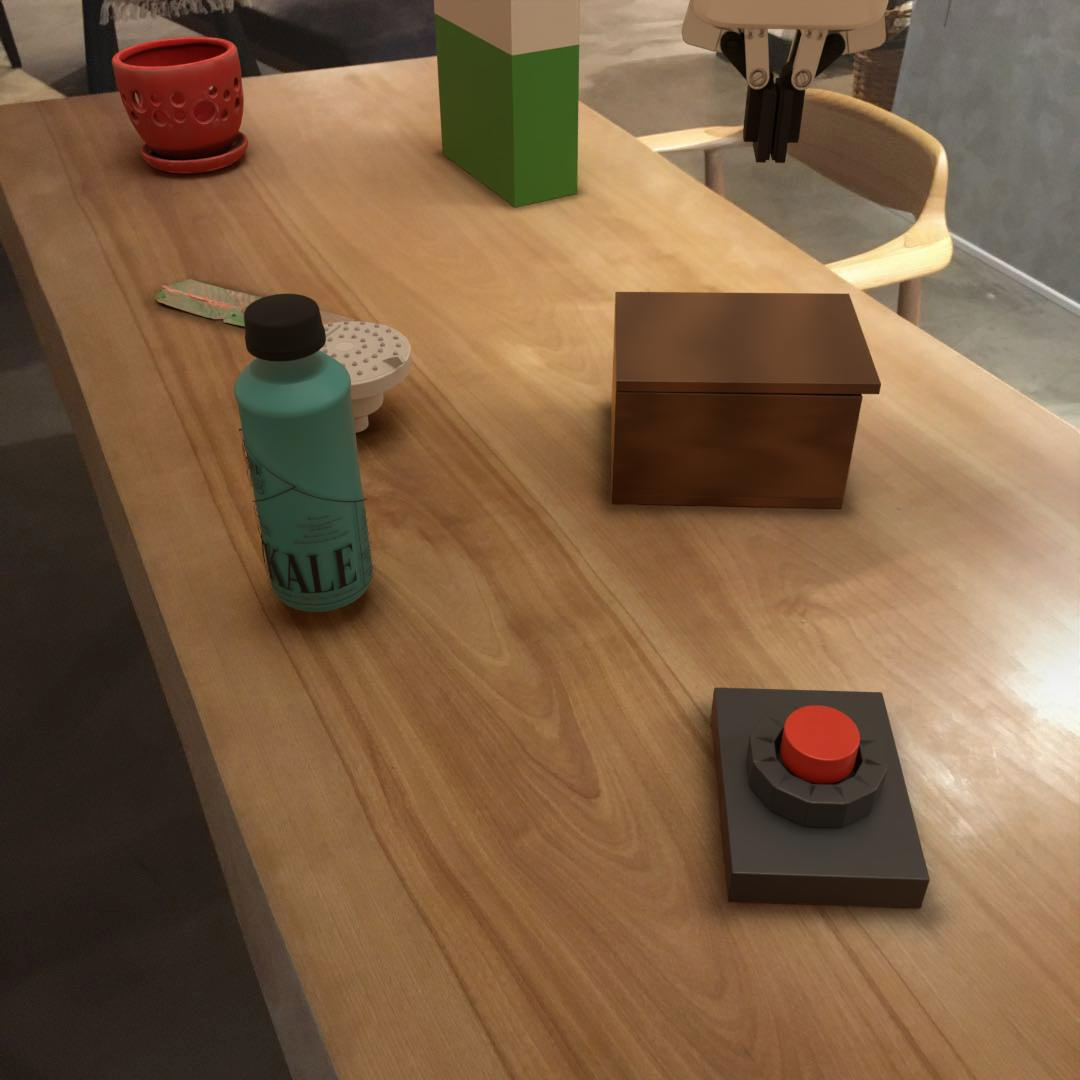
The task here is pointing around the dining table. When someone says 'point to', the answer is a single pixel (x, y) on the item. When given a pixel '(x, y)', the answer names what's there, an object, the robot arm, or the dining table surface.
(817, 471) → the chest
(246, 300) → the map
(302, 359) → the beverage bottle
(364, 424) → the showerhead
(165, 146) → the plant pot
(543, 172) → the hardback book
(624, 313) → the chest lid
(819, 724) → the button
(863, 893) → the control block
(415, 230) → the dining table surface
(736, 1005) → the dining table surface
